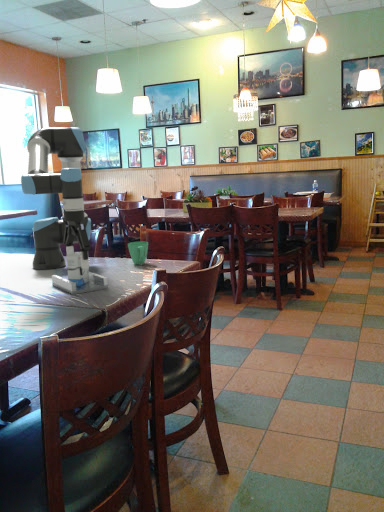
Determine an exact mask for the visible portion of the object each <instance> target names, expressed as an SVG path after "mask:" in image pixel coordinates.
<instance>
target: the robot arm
mask: <svg viewBox="0 0 384 512" xmlns="http://www.w3.org/2000/svg"><path fill="white" fill-rule="evenodd" d="M27 152H28V168H27V174H22V176H21V178H20V181H21V182H20V183H21V190H22V194H25V195H47V194H48V195H49V194H61V196H62V197H61V198H62V201H61V205H62V208H63V210H64V211H63V214H62V219H59V217H58V216H55V217H53V216H52V217H46V218H42V219H37V220H35V221H34V222H33V224H32V228H33V229H32V232H33V241H34V242H33V243H34V257H33V260H32V269H34V270H51V269H52V270H54V269H59V268H63V267H65V266H67V262H66V259H65V257H64V255H63V252H62V249H61V245H65V249H66V250H65V251H66V256H67V255H68V254H71V253H74V252H75V250H74V249H75V248H74V246H75V244H78V245H79V248H80V249H79V252H80V255H81V268H82V269H84V268H88V269H90V261H89V251H91V248H92V247H91V244H90V239H91V231H92V230H91V229H92V228H91V227H92V220H91V218H90V217H88V214H87V213H86V212H85V210H84V209H85V204H84V203H85V201H84V194H83V176H82V164H81V161H82V160H83V158H84V154H87V149H86V143H85V138H84V132H83V130H82V129H81V128H80V127H77V126H76V127H74V126H69V127H66V126H60V127H59V126H57V127H56V126H53V127H51V126H48V127H47V126H46V127H43V128H40V129H38V130H36V131H35V132H34V133H33V134H31V135H30V137H29V139H28V141H27ZM50 154H52V155H54V154H55V155H56V156H57V159H58V160H60V162H61V163H60V164H61V169H60V172H59V173H49V155H50Z"/></svg>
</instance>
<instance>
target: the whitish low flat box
mask: <svg viewBox="0 0 384 512" xmlns="http://www.w3.org/2000/svg"><path fill="white" fill-rule="evenodd" d="M51 282H52V286H53V287H54V288H55V287H56V288H57V287H58V289H59V288H60V289H59V290H61V291H64V292H66V291H67V292H66V293H68V292H69V293H68V294H70V293H71V294H70V295H72V294H74V295H78V294H77V293H79V294H83V293H88V292H93V291H99V290H106V289H109V285H108V277H106V276H104V275H101V274H98V273H95V272H92V271H89V282H87V283H85V284H83V285H81V286H76V283H74V282H72V281H69V280H68V278H64V277H62V276H60V275H57V274H51Z"/></svg>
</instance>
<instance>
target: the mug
mask: <svg viewBox="0 0 384 512" xmlns="http://www.w3.org/2000/svg"><path fill="white" fill-rule="evenodd" d="M127 248H128V252H129V255H130V257H131V259H132V263H133V264H134V265H138V264H139V265H144V264H145V262H146V258H147V255H148V250H149V242H148V241H133V242H128V243H127ZM143 263H144V264H143ZM139 265H138V266H139Z"/></svg>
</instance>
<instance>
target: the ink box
mask: <svg viewBox="0 0 384 512" xmlns="http://www.w3.org/2000/svg"><path fill="white" fill-rule="evenodd" d="M65 257H66V267H67V268H66V269H67V280H69V281H72V282H74V283H76V286H81V285H83V284H85V283H87V282H89V272H90V271H89V269H90V268H84V269H82V268H81V255H80V251H74V253H71V254H68V255H67V254H66V256H65Z"/></svg>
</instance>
